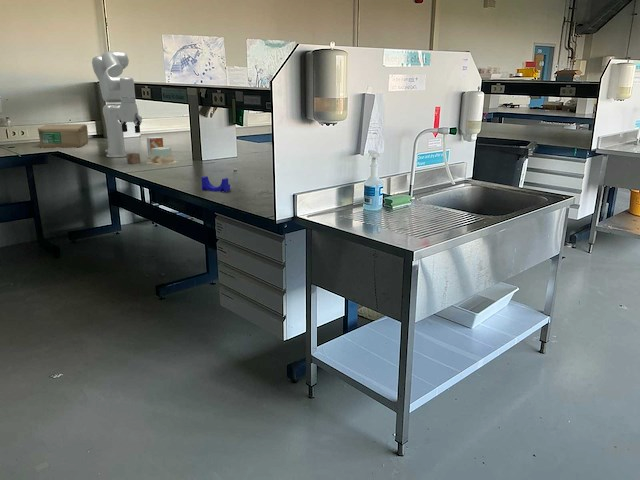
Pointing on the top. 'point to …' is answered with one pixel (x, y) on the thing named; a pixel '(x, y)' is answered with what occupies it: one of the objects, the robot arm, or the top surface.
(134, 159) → the walnut block
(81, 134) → the paper package
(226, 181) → the blue cradle block
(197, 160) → the top surface
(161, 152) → the tower top
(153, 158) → the tower base
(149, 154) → the small box
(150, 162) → the cork mat
